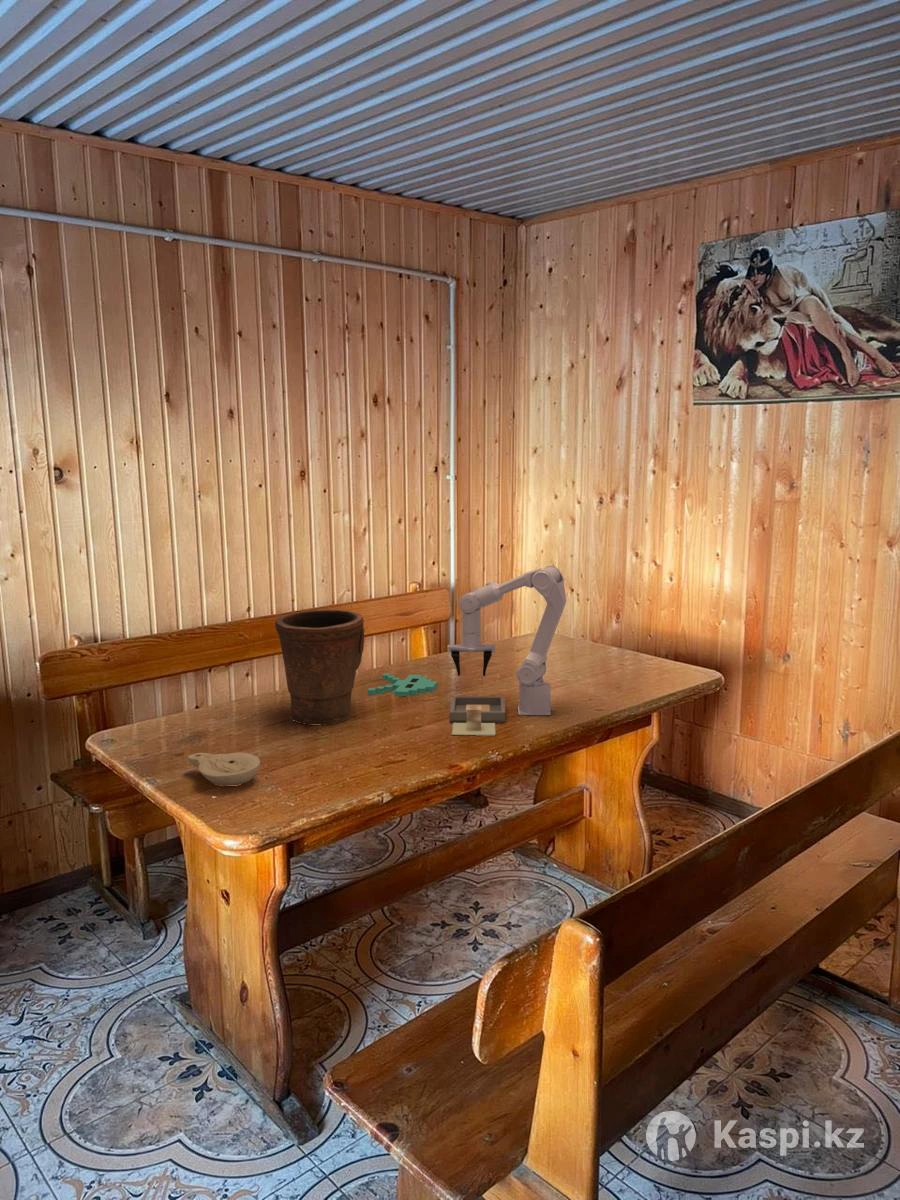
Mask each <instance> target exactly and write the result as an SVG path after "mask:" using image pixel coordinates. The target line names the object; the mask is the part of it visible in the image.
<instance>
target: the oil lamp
mask: <svg viewBox="0 0 900 1200" xmlns="http://www.w3.org/2000/svg"><path fill="white" fill-rule="evenodd" d="M187 760H188V762H189V763H190V764H191V765H192V766H193V767H196V768H197V769H198V771H199V773H200V774H201V775H202V776H203V777H204V778H205V779H207V780H208V781H209V782H210V783H212V784H213V783H214V784H217V785H223V786H227V785H239V784H243V783H245V782H246V783H248V782H249V781H250V780H251V779H253V778H254V777H255V775H256V774H257V773H258V771H259V769H260V765H261V761H260V758H259V757H258V756H256V755H254V754H251V753H248V752H232V753H230V752H229V753H216V754H212V753H209V752H207V753H206V752H198V753H196V752H195V753H192V754H190V755H188V756H187ZM247 781H248V782H247ZM246 783H245V784H246ZM214 784H213V785H214ZM243 785H244V784H243Z"/></svg>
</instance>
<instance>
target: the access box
mask: <svg viewBox="0 0 900 1200" xmlns="http://www.w3.org/2000/svg"><path fill="white" fill-rule="evenodd" d="M505 701H506V700H505V696H489V695H487V696H486V695H485V696H484V695H483V696H480V695H479V696H477V695H475V696H472V695H471V696H470V695H469V696H468V695H467V696H459V695H458V696H457V695H455V696H454V695H452V696H451V702H450V707H449V709H450V710H449V724H453V723H455V722H456V723H466V722H467V706H481V723H495V724H506V704H505V703H506V702H505Z"/></svg>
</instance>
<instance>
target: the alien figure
mask: <svg viewBox="0 0 900 1200" xmlns="http://www.w3.org/2000/svg"><path fill="white" fill-rule="evenodd" d="M382 681H386V682H387V683H390V682H392V683H391V684H385V686H380V685H379V686H377V687H369V688H368V689H367V696H376V695H379V694H380V695H381V694H382V695H384V693H392V692H393V691H394V693H393V695H394V696H406V697H405V698H409V697H410V696H415V695H416V696H418V693H425V694H426V693H434V692H435V690H437V688H438V681H435V680H433V678H432V679H431V678H429V679H428V677H427V676H423V674H409V675H407V677H406V678H405V679H401V678H400V677H396V675H392V673H386V672H385V673H383V674H382ZM393 684H394V685H393ZM433 691H434V692H433ZM408 696H409V697H408Z"/></svg>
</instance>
